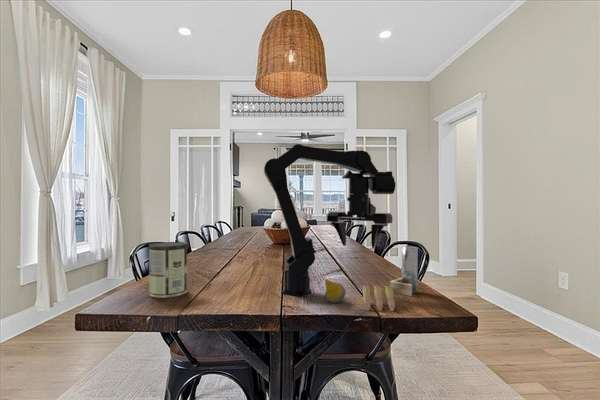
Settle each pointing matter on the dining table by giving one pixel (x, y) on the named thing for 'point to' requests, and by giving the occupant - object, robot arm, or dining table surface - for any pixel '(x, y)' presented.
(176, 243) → the coffee can
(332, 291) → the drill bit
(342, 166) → the robot arm
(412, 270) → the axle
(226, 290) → the dining table surface
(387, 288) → the ammunition
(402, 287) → the v block
